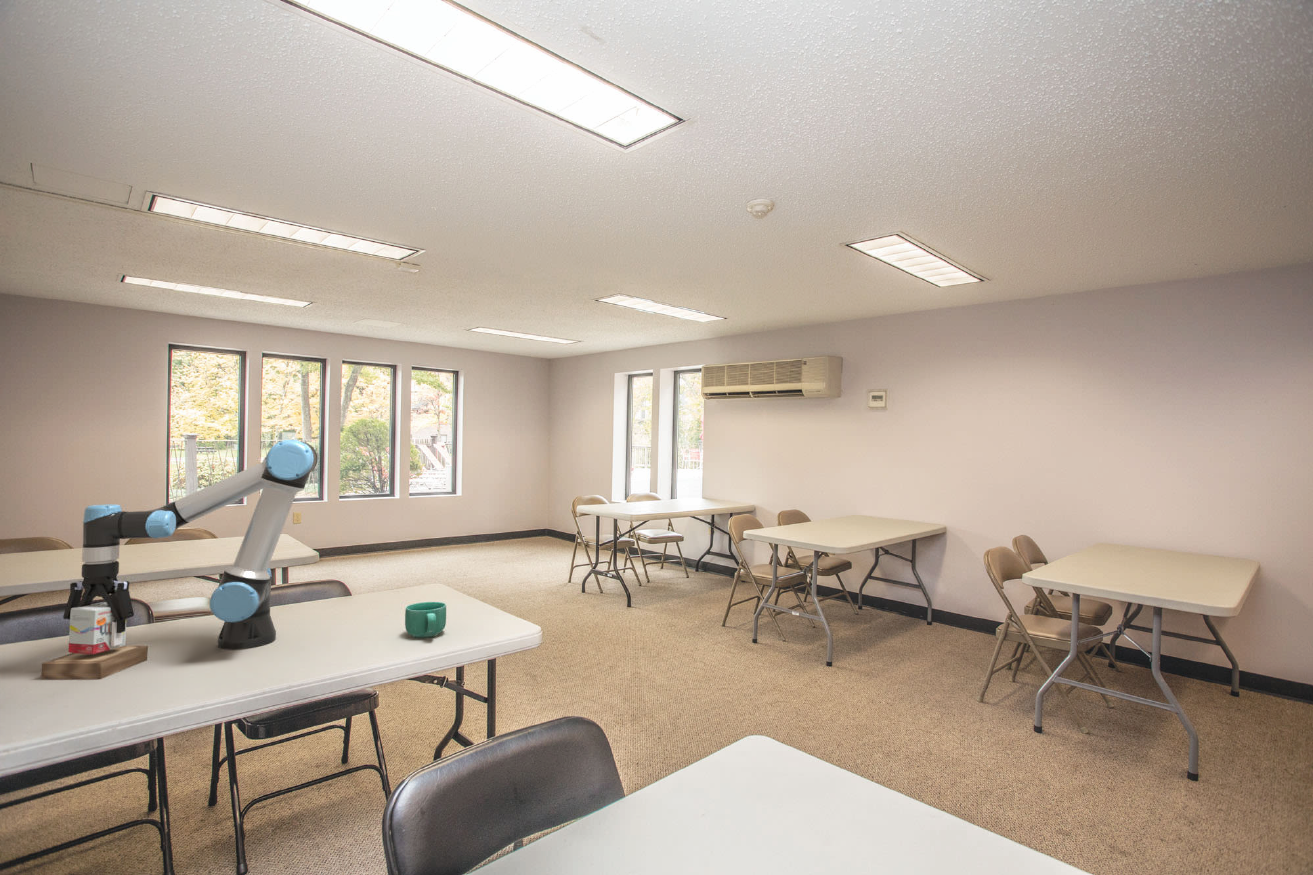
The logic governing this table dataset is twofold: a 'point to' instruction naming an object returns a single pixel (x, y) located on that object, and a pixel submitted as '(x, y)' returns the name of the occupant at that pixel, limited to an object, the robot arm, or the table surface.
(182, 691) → the table surface
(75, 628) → the ink box
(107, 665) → the riser
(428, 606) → the mug
